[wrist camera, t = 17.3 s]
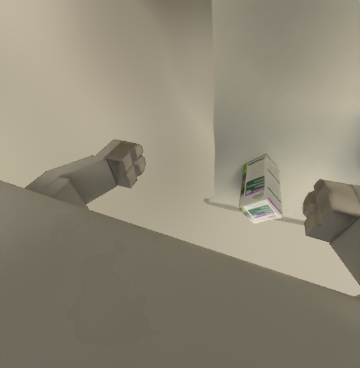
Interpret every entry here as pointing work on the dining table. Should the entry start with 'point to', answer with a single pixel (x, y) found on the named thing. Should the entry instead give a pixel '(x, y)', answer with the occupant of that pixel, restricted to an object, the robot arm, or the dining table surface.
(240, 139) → the dining table surface
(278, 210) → the syrup box
